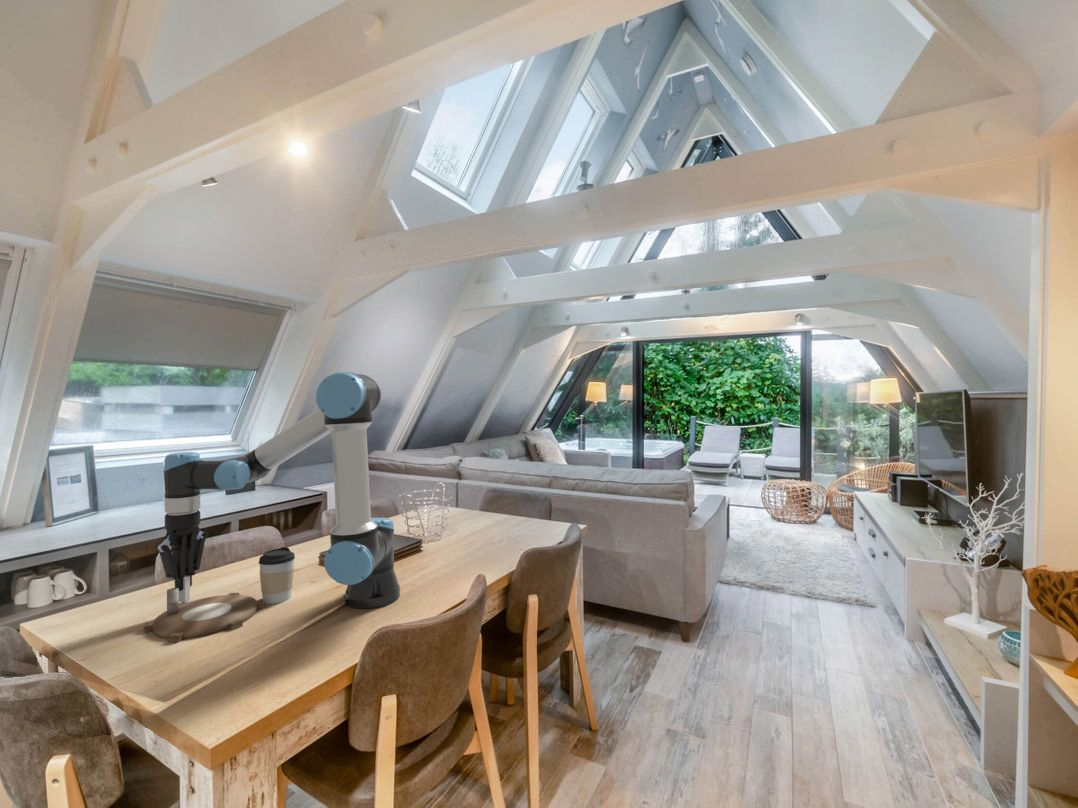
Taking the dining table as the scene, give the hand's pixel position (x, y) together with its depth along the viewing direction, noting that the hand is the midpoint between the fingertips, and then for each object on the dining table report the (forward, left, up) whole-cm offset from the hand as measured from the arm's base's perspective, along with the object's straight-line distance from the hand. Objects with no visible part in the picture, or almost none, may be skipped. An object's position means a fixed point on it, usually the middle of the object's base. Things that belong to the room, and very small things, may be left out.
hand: (183, 601), depth 126 cm
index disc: (-9, 0, -3) cm, 9 cm away
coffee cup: (-16, -15, -5) cm, 22 cm away
